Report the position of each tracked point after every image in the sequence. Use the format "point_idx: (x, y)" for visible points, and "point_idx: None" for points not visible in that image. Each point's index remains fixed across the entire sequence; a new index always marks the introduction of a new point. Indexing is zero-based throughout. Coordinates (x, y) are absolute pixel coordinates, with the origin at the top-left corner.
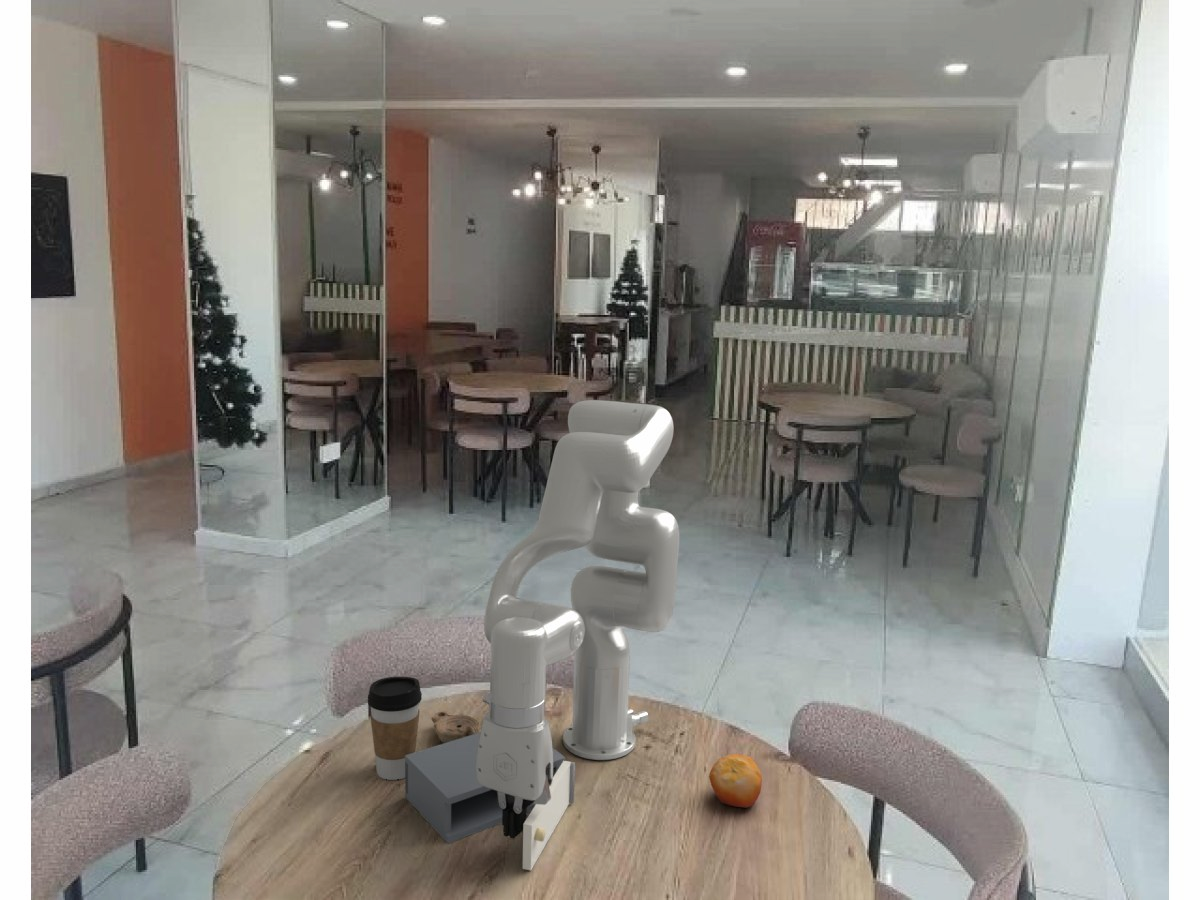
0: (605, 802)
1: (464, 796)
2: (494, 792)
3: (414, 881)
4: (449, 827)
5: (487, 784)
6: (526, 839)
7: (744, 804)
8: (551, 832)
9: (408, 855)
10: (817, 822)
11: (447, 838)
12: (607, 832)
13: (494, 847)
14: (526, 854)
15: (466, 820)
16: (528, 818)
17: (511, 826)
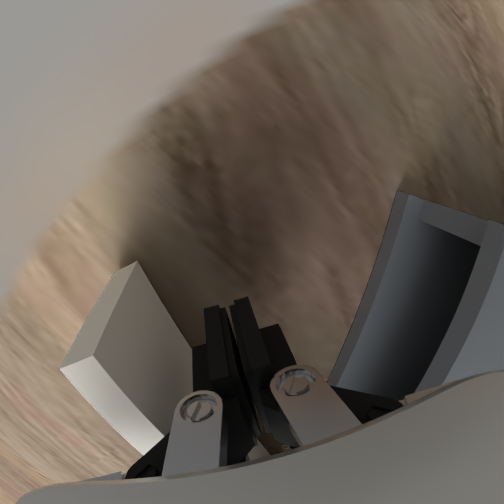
0: None
1: (472, 295)
2: (378, 401)
3: (343, 16)
4: (428, 218)
5: (442, 414)
6: (99, 317)
7: None
8: None
9: (429, 91)
10: None
11: (408, 194)
12: (136, 460)
13: (287, 273)
14: (114, 287)
15: (413, 283)
16: (119, 396)
17: (214, 333)
